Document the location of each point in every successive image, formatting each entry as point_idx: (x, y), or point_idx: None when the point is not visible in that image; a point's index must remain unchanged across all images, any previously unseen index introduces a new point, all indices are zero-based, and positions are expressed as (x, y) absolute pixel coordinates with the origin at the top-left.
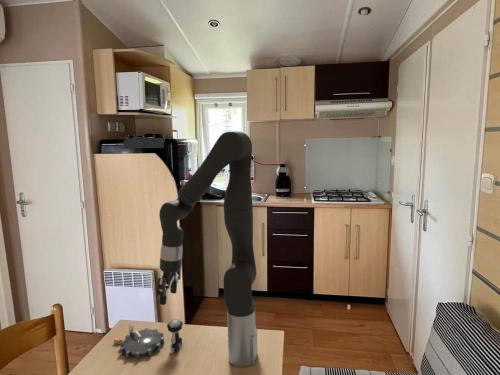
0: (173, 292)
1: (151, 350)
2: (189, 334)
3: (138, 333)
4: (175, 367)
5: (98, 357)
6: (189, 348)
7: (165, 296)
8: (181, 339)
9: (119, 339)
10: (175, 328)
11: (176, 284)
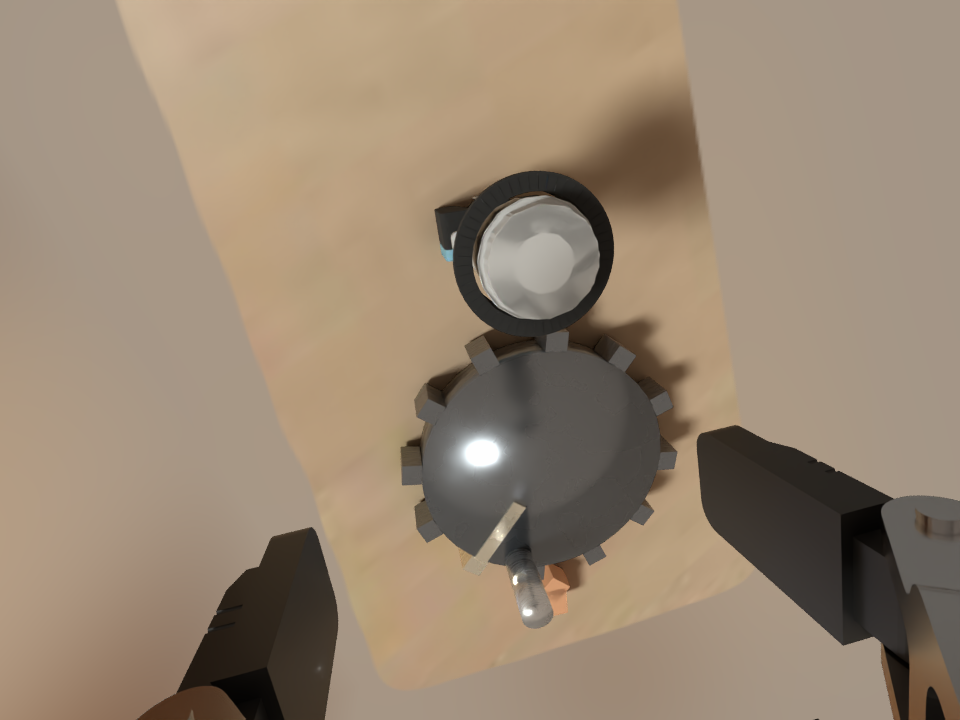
0: (321, 569)
1: (595, 353)
2: (299, 225)
3: (494, 536)
4: (664, 106)
5: (672, 571)
6: (457, 121)
7: (861, 498)
8: (446, 211)
9: (557, 589)
10: (599, 205)
11: (257, 670)
